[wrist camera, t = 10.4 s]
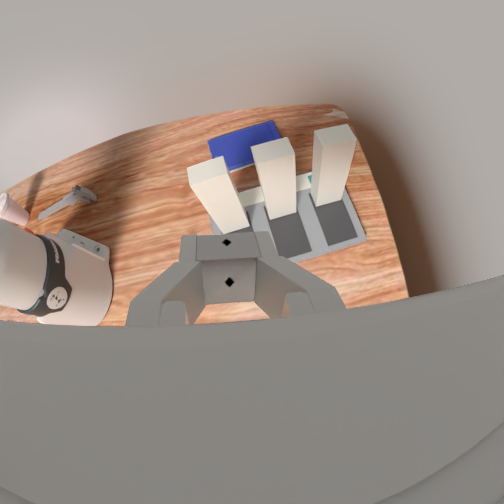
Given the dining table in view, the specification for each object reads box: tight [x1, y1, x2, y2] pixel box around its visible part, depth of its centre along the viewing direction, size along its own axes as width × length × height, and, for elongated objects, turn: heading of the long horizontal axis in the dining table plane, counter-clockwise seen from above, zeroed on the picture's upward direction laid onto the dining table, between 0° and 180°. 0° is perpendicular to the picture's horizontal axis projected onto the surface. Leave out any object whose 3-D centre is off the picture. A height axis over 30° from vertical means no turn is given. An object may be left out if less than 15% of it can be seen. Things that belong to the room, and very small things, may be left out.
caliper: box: [38, 185, 97, 220], centre depth 47 cm, size 20×1×6 cm, turn 95°
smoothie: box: [0, 193, 29, 226], centre depth 46 cm, size 6×6×14 cm
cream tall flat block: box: [251, 137, 296, 220], centre depth 33 cm, size 2×4×14 cm, turn 105°
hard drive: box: [207, 120, 281, 173], centre depth 46 cm, size 2×8×12 cm
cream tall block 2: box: [311, 124, 357, 207], centre depth 33 cm, size 2×4×14 cm, turn 105°
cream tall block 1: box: [187, 156, 250, 234], centre depth 34 cm, size 2×4×14 cm, turn 105°
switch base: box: [209, 171, 367, 264], centre depth 40 cm, size 13×21×1 cm, turn 105°
